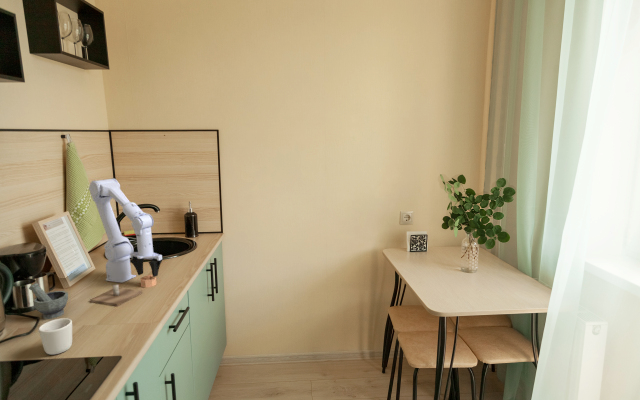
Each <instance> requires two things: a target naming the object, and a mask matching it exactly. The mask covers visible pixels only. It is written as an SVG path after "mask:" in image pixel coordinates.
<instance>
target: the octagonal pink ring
mask: <svg viewBox="0 0 640 400" xmlns="http://www.w3.org/2000/svg"><path fill="white" fill-rule="evenodd" d="M139 279H140V287H141V288H145V289H146V288H152V287H154V286H156V285H157V276H156V277H153V275H152V274H150V275H143V276H142V277H140V278H139Z"/></svg>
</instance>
